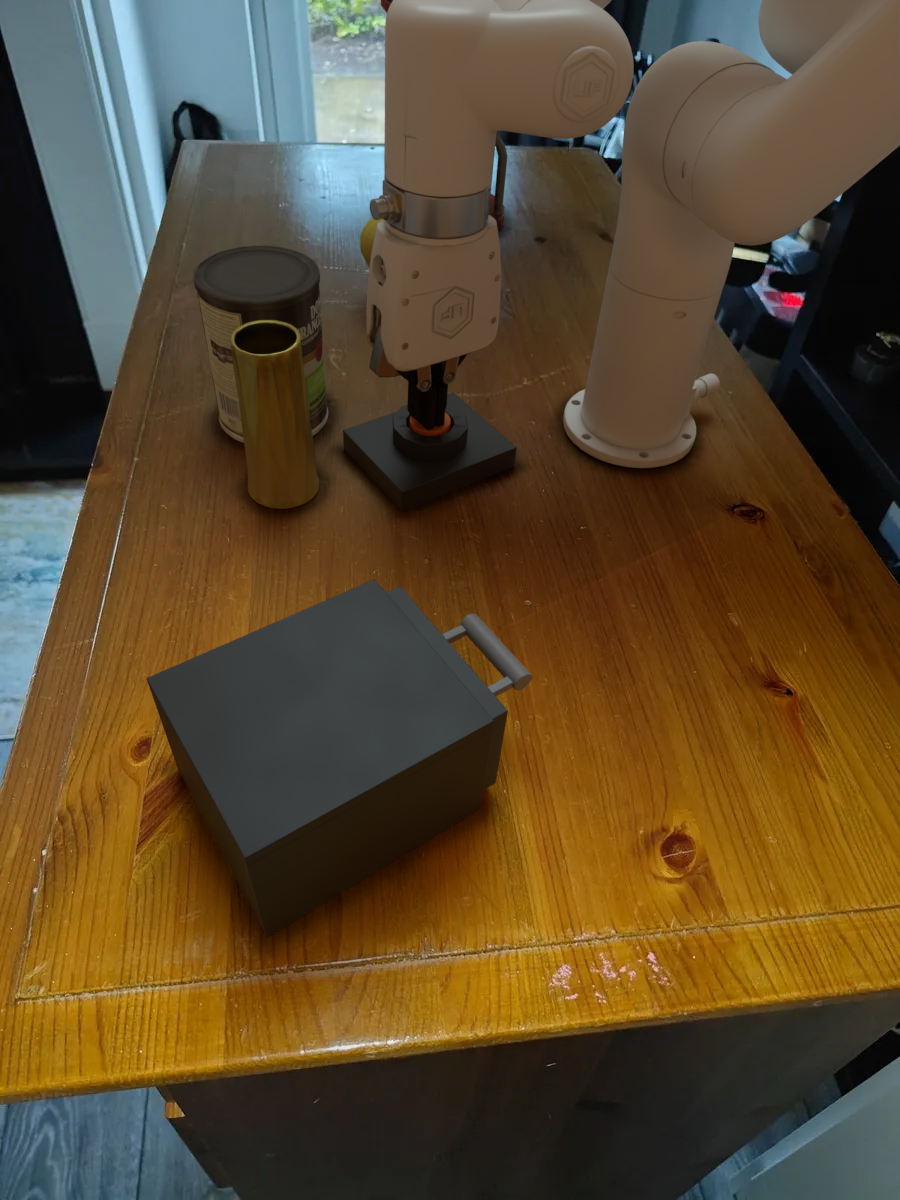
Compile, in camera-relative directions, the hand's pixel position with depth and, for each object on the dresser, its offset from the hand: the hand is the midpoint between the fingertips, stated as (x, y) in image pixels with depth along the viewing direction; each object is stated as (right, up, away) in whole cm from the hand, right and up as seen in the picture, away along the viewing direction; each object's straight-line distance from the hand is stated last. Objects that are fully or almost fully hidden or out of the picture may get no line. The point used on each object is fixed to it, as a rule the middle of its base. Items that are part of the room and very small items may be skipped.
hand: (426, 419), depth 73 cm
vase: (-12, -6, 0) cm, 14 cm away
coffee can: (-15, +2, +7) cm, 16 cm away
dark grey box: (-6, -28, -20) cm, 35 cm away
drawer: (-2, -25, -19) cm, 32 cm away
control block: (0, -3, +3) cm, 4 cm away
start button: (0, -1, +1) cm, 2 cm away
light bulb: (-5, +18, +22) cm, 29 cm away
